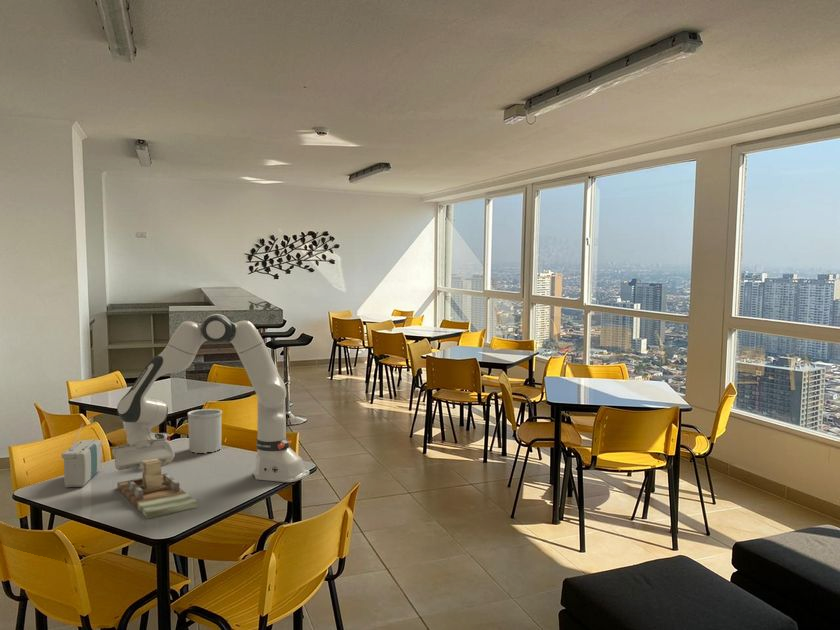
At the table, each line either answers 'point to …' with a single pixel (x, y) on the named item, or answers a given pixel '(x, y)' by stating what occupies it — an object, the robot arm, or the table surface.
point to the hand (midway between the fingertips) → (149, 474)
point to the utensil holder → (205, 430)
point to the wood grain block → (152, 476)
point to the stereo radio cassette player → (82, 462)
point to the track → (157, 497)
